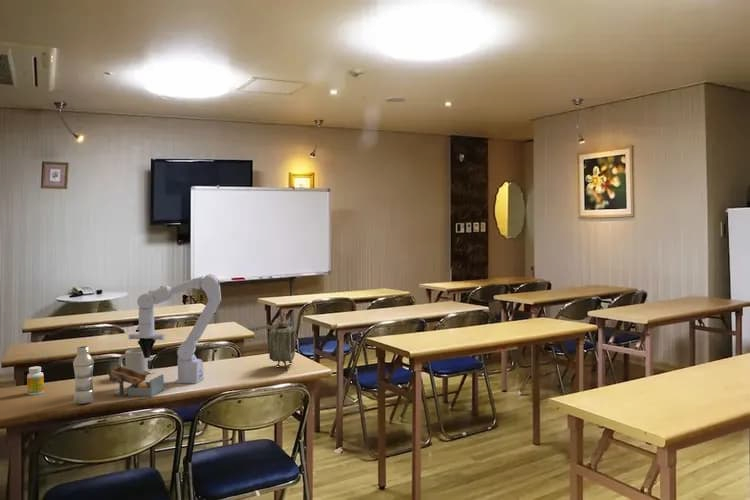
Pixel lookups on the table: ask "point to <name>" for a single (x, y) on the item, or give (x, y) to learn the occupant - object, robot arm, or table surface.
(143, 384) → the ball
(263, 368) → the table surface
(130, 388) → the grey open box
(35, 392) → the supplement bottle
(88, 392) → the plastic bottle
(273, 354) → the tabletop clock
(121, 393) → the stand
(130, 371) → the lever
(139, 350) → the mug
